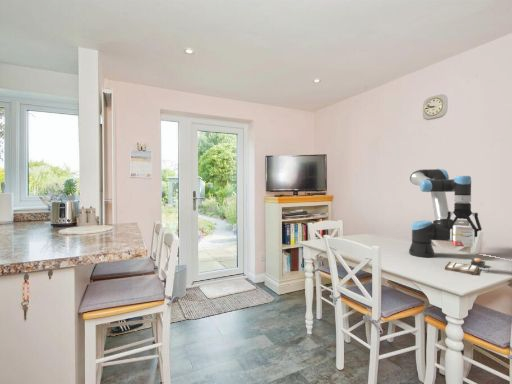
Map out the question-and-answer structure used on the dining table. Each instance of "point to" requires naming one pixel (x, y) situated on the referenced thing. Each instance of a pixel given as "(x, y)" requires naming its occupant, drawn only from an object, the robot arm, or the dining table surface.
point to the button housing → (478, 264)
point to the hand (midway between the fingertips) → (462, 241)
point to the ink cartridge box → (462, 234)
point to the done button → (478, 260)
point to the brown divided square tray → (462, 268)
